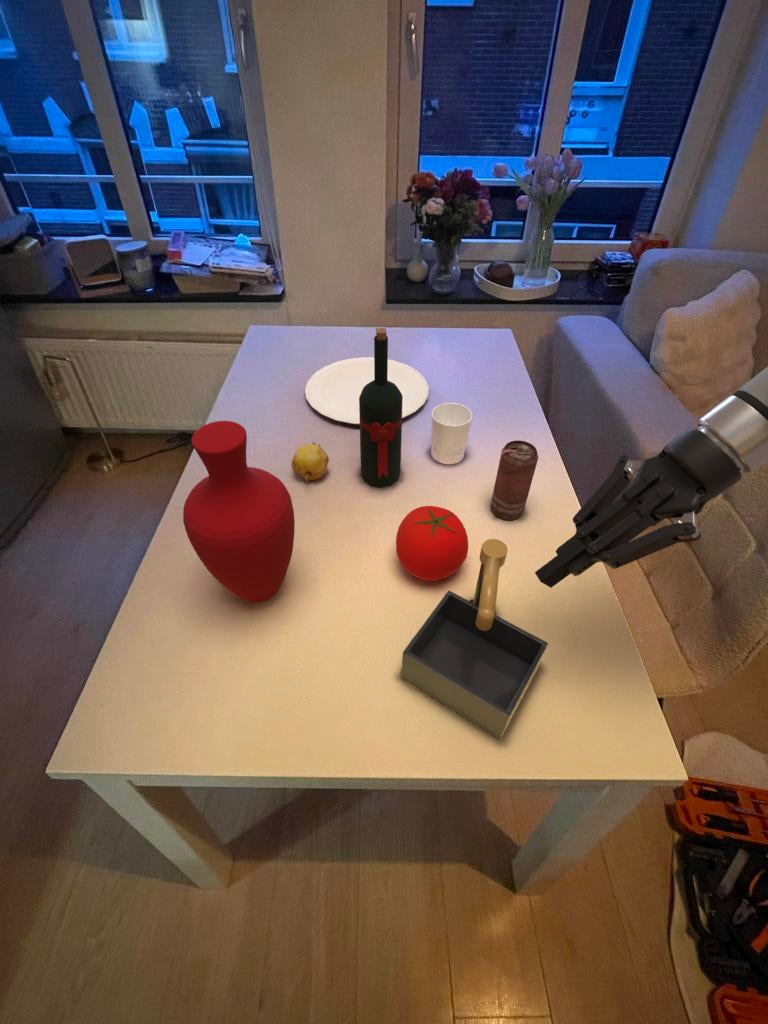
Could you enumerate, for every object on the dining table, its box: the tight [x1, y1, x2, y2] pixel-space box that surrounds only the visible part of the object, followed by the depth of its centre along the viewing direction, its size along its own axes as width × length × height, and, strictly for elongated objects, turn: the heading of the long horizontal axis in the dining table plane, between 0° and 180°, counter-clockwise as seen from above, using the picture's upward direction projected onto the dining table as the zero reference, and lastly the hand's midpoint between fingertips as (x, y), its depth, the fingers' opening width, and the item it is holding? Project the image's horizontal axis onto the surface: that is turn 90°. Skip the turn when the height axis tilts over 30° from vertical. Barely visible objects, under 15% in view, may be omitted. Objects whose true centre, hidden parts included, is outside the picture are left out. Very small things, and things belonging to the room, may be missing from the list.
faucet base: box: [469, 562, 501, 616], centre depth 76 cm, size 5×5×13 cm
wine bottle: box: [359, 327, 403, 489], centre depth 93 cm, size 8×10×30 cm
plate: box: [304, 356, 430, 425], centre depth 124 cm, size 29×29×2 cm
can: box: [489, 440, 539, 521], centre depth 92 cm, size 6×6×14 cm
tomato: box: [395, 505, 469, 582], centre depth 84 cm, size 12×12×10 cm
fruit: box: [291, 441, 330, 484], centre depth 102 cm, size 7×7×10 cm
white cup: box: [430, 402, 473, 465], centre depth 105 cm, size 8×8×10 cm
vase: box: [182, 420, 296, 604], centre depth 74 cm, size 15×15×30 cm
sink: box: [401, 590, 549, 740], centre depth 72 cm, size 12×15×7 cm
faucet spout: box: [476, 538, 509, 631], centre depth 68 cm, size 13×3×3 cm, turn 167°
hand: (542, 580), depth 64 cm, fingers closed
